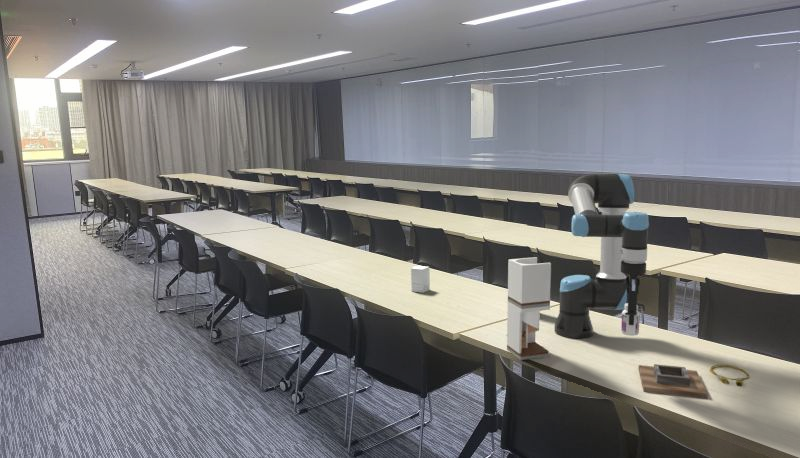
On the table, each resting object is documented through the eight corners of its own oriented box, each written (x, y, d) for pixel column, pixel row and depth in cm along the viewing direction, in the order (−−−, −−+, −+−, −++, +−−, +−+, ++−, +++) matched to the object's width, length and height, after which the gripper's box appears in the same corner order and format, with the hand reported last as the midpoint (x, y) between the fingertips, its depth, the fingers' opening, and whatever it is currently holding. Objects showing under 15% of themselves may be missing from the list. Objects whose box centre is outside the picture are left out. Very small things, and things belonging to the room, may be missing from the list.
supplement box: (430, 289, 303) (430, 266, 301) (423, 293, 296) (423, 269, 294) (418, 288, 307) (417, 265, 305) (411, 291, 300) (410, 267, 298)
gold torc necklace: (699, 377, 191) (700, 372, 190) (718, 364, 201) (718, 359, 201) (739, 389, 182) (740, 383, 181) (757, 375, 192) (757, 369, 192)
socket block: (638, 369, 197) (639, 358, 196) (696, 374, 192) (697, 363, 191) (643, 391, 180) (644, 379, 180) (707, 398, 175) (708, 386, 174)
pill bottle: (624, 329, 190) (626, 301, 188) (641, 332, 186) (642, 304, 185) (618, 333, 186) (619, 305, 184) (635, 337, 182) (636, 308, 181)
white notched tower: (520, 360, 207) (522, 265, 201) (506, 349, 217) (508, 259, 211) (548, 356, 210) (551, 263, 204) (533, 346, 220) (535, 257, 214)
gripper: (620, 254, 192) (617, 321, 196) (621, 266, 175) (618, 339, 178) (644, 256, 189) (640, 323, 193) (648, 268, 172) (644, 341, 176)
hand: (630, 330), depth 186 cm, fingers closed on pill bottle, 5 cm apart
